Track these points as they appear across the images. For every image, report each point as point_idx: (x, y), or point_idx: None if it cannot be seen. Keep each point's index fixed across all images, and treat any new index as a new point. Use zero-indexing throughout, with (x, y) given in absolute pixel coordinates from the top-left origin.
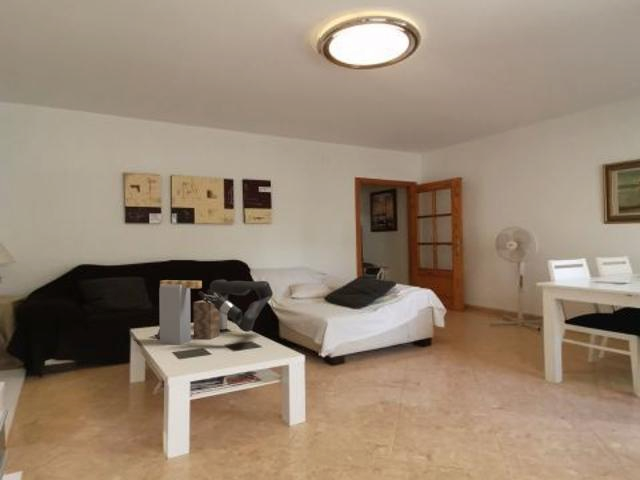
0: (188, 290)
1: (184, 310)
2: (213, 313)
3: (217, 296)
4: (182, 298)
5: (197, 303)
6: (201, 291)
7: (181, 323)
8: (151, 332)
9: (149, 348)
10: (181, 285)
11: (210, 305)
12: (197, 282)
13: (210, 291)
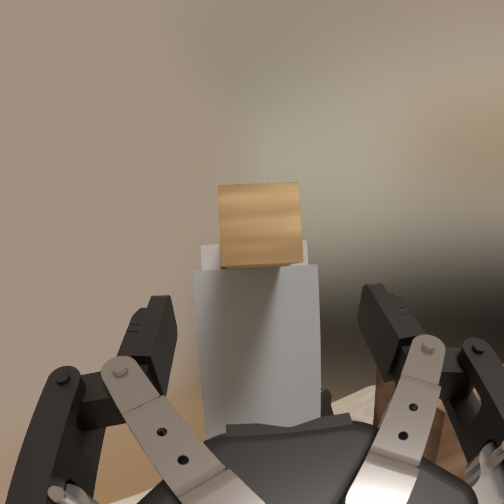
0: (298, 289)
1: (255, 420)
2: (461, 477)
3: (361, 497)
4: (228, 343)
5: (388, 382)
6: (162, 305)
7: None
8: (340, 407)
9: (145, 493)
10: (212, 249)
11: (441, 433)
12: (218, 197)
13: (379, 316)
